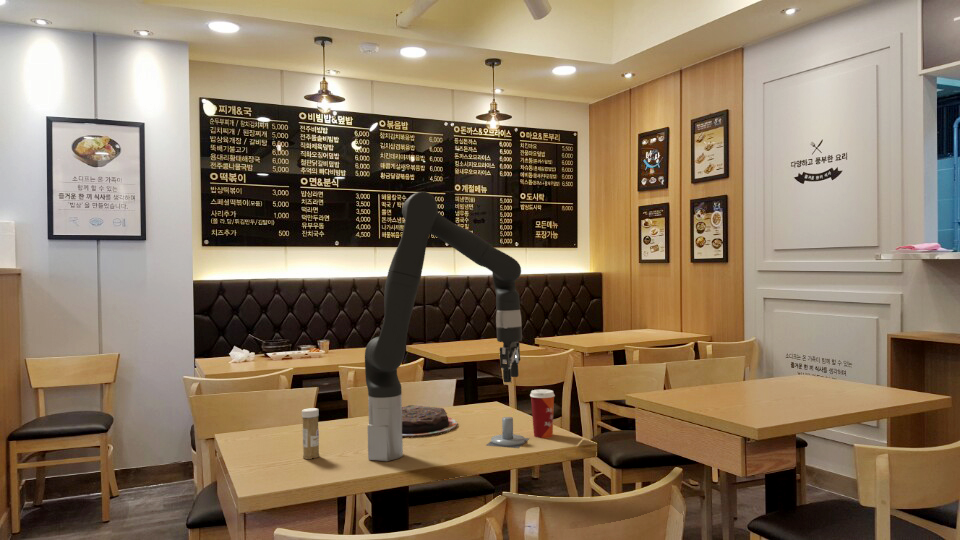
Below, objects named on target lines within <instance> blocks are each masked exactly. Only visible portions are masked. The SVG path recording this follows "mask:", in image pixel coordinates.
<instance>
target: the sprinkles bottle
mask: <svg viewBox="0 0 960 540" xmlns="http://www.w3.org/2000/svg"><path fill="white" fill-rule="evenodd" d="M319 416H320V414H319V408H315V407H311V408H310V407H309V408H304V409H302V410H301V417H302V451H303V455H302V458H303V459H306V460H313V459H312V458H314V459H317V458H319V457H320V451H319V450H320V434H319V433H320V431H319Z"/></svg>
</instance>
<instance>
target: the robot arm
mask: <svg viewBox="0 0 960 540" xmlns="http://www.w3.org/2000/svg"><path fill="white" fill-rule="evenodd" d="M436 200H437V199H435V197H434V196H433V195H432V194H431V193H430V192H428V191H418V192H415V193H413V194H411V195H410V196H409V197H408V198H406V200H405V201H404V202H403V204H402V208H401V214H402V216H403V219H404V224H403V225H404V226H403V231H402V235H401V238H400V241H399V244H398V246H397V248H396V250H395V252H394V254H393V257H392V260H391V262H390V265H389V268H388V272H387V276H386V280H385V284H384V292H383V296H384V297H383V298H384V299H383V300H384V301H383V302H384V303H383V305H384V317H383V322H382V325H381V328H380V334H379V336H376V337H374V338H372V339H371V340H370V341H369V342H368V343H367V344H366V346H365V350H364V370H365V371H364V374H365V383H366V387H367V395H368V396H367V397H368V400H367V401H368V404H367V405H368V425H367V459H368V460H369V461H370V460H371V461H381V462H389V461H392V460H397V459H400V458H402V457H403V454H404V449H403V446H404V445H403V443H404V442H403V437H402V407H403V406H402V405H403V402H402V401H403V399H402V398H403V397H402V395H403V394H402V393H403V392H402V384H401V382H400V379H399V376H398V368H399V367H400V366H401V365H402V363H403V361H404V358H405V353H406V349H407V348H406V346H407V339H408V332H409V326H410V321H411V317H412V313H413V310H414V306H415V301H416V297H417V294H418V289H419V286H420V283H421V282H420V281H421V278H422V273H423V269H424V264H425V263H424V261H425V257H426V251H427V245H428V239H429V236H430V235H432V236H434V237H436V238H438V239H439V240H441V241H442V242H444V243H446V244H447V245H449V246H451V247H452V248H453V249H454V250H456V251H457V252H459V253H460V254H462V255H463V256H465V257H466V258H468V259H469V260H471V261H472V262H473V263H475V264H476V265H478V266H480V267H483V268H485V269H487V270H489V271H491V272H492V281H493V286H494V287H493V288H494V290H495V291H494V293H495V296H496V297H495V307H496V315H495V325H496V327H495V328H496V340H497V342H498V343H502V344H503V345H502V347H499V368H500V369H501V370H502V377H503V382H504V383H512V378H518V377H519V375H520V373H519V364H520V361H521V352H520V351H521V350H520V349H521V348H520V344H521V343H520V342H521V341H522V340H523V331H522V330H523V329H522V327H523V325H522V313H521V304H520V303H521V302H520V299H521V298H520V293H519V292H518V290H517V288H516V280H518V279H519V278H520V276H521V274H522V267H521V265H520V263H519V261H518V260H517V259H515V258H514V257H512V256H510V255H509V254H507V253H505V252H504V251H502V250H500V249H498V248H495V247H494V246H493V245H492V244H491V243H489V242H488V241H487V240H484V239H483V238H482V237H480V236H479V235H477V234H476V233H474V232H473V231H471V230H468V229H466V228H464V227H462V226H460V225H457V224H456V223H454V222H452V221H450V220H449V219H448V218H446V217H445V216H443V215H441V214H440V213H439V210H438V208H439V207H438V202H437V201H436Z"/></svg>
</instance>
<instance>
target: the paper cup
mask: <svg viewBox="0 0 960 540" xmlns="http://www.w3.org/2000/svg"><path fill="white" fill-rule="evenodd" d="M529 396H530V401H531V414H532V415H531V416H532V427H533V436H534V437H535V438H537V439H547V438H548V439H549V438H552V437H553V431H554V411H555V410H554V408H555V407H554V405H555V403H554V402H555V397H556V395H555V393H554V390H551V389H546V388H545V389H541V388H540V389H534V390H533V389H532V390H531V391H530V394H529Z"/></svg>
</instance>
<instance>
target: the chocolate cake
mask: <svg viewBox="0 0 960 540" xmlns="http://www.w3.org/2000/svg"><path fill="white" fill-rule="evenodd" d="M457 426H458V421H457V420H456V419H454V418H453V417H450V416H448V413H447V411H446V410H445V408H443V407H435V406H423V405H413V404H411V405H409V404H408V405H406V406H402V438H407V437H409V438H408V439H411V437H413V438H417V437H418V436H420V438H423V437H424V436H425V437H432V435H435V436H439V435H442V434H445V433H447V432H449V430H450V431H452V430H454V429H455V428H456V427H457ZM441 433H442V434H441ZM425 437H424V438H425Z"/></svg>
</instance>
